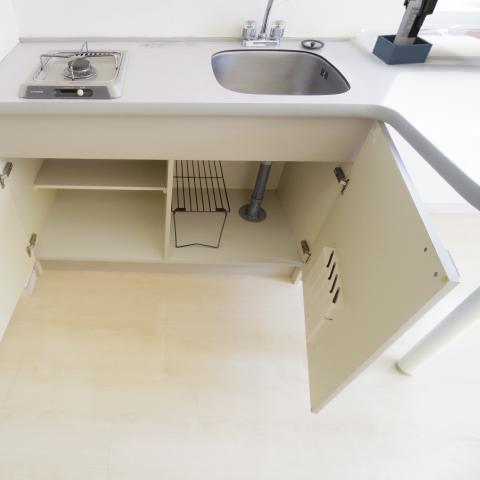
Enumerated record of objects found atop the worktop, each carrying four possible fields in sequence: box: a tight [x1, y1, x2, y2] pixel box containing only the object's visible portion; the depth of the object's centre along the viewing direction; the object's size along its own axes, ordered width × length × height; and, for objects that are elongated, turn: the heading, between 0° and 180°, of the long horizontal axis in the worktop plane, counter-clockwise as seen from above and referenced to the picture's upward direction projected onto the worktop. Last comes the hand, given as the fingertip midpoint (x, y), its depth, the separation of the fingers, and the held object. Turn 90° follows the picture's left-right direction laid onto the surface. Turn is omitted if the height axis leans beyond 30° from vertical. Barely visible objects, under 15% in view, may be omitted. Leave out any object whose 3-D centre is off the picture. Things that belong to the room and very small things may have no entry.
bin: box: [372, 33, 434, 65], centre depth 123 cm, size 13×13×6 cm
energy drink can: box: [393, 0, 422, 46], centre depth 117 cm, size 6×6×15 cm
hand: (406, 34), depth 120 cm, fingers closed on energy drink can, 6 cm apart
